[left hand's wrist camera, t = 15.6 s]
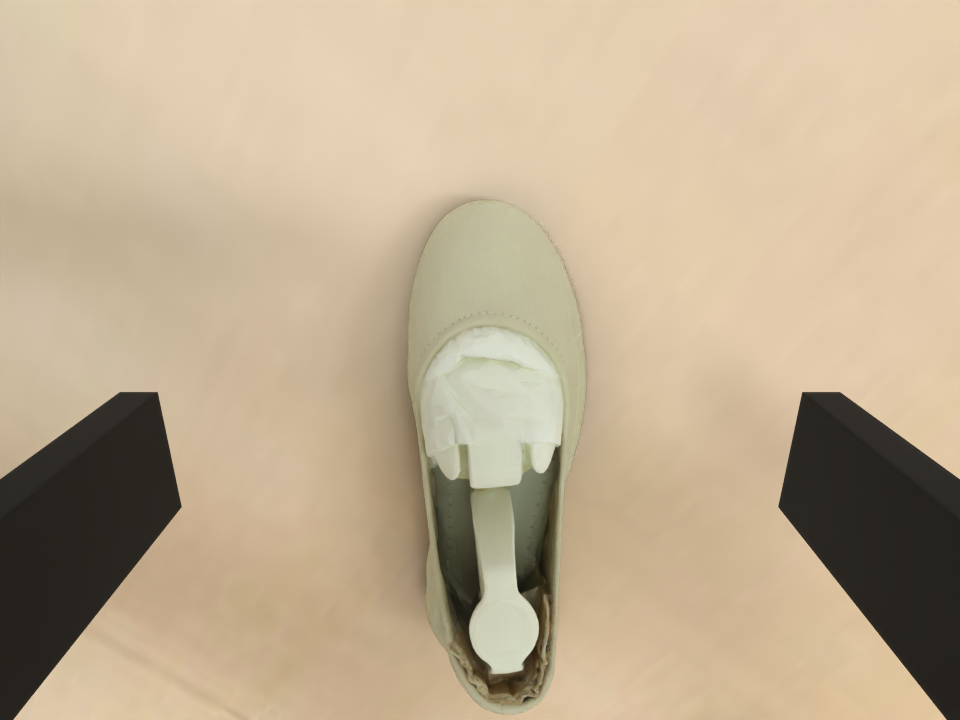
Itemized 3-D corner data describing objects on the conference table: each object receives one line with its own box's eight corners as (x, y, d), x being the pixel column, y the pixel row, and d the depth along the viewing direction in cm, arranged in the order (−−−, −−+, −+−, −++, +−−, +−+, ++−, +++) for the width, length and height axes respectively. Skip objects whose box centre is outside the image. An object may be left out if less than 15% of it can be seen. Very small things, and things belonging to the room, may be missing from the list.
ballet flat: (584, 193, 27) (620, 213, 19) (575, 627, 35) (598, 759, 28) (397, 200, 27) (361, 223, 20) (433, 629, 35) (417, 761, 28)
